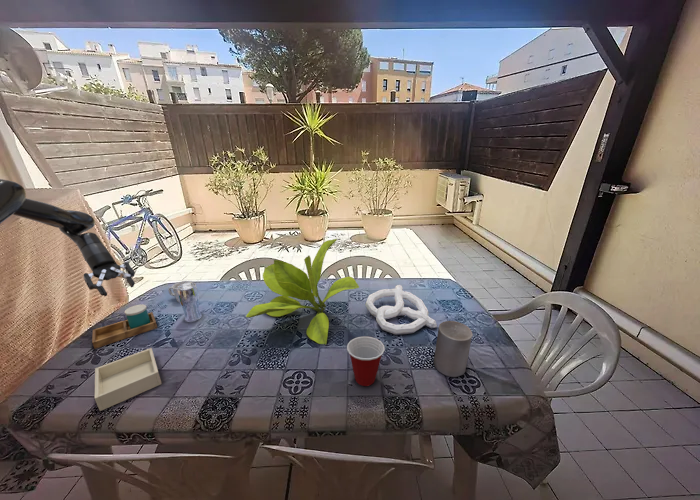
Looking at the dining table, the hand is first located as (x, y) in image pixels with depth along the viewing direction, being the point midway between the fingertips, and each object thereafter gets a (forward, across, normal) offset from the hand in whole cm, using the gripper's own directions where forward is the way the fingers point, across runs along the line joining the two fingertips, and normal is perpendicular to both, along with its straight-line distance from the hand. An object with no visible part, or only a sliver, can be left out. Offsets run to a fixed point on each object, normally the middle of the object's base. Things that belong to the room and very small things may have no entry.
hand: (119, 290), depth 104 cm
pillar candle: (+92, +41, -72) cm, 123 cm away
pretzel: (+74, +59, -55) cm, 110 cm away
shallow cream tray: (+36, -14, -16) cm, 42 cm away
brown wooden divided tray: (+16, -4, +4) cm, 17 cm away
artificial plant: (+52, +37, -32) cm, 71 cm away
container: (+16, 0, +2) cm, 16 cm away
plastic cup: (+77, +22, -57) cm, 98 cm away
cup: (+11, +20, +9) cm, 25 cm away
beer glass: (+24, +14, -5) cm, 29 cm away
